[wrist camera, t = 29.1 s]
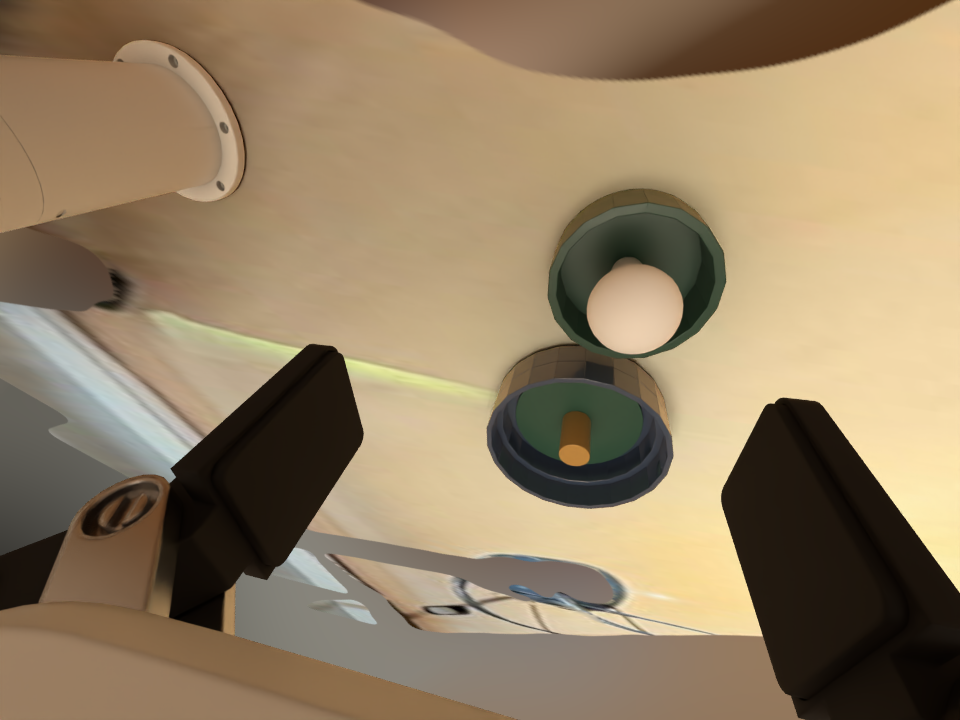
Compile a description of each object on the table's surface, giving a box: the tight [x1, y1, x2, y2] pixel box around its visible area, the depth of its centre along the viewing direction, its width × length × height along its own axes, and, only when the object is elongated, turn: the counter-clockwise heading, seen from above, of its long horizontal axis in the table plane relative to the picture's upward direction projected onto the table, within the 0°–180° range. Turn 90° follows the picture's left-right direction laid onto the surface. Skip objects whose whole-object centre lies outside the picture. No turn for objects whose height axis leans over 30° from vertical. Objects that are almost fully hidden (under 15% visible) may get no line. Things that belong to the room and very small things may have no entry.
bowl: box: [487, 346, 673, 509], centre depth 41 cm, size 18×18×6 cm
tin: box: [548, 189, 726, 359], centre depth 31 cm, size 12×13×5 cm
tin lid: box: [516, 383, 643, 466], centre depth 41 cm, size 13×13×6 cm
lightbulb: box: [587, 257, 683, 354], centre depth 29 cm, size 6×6×11 cm
